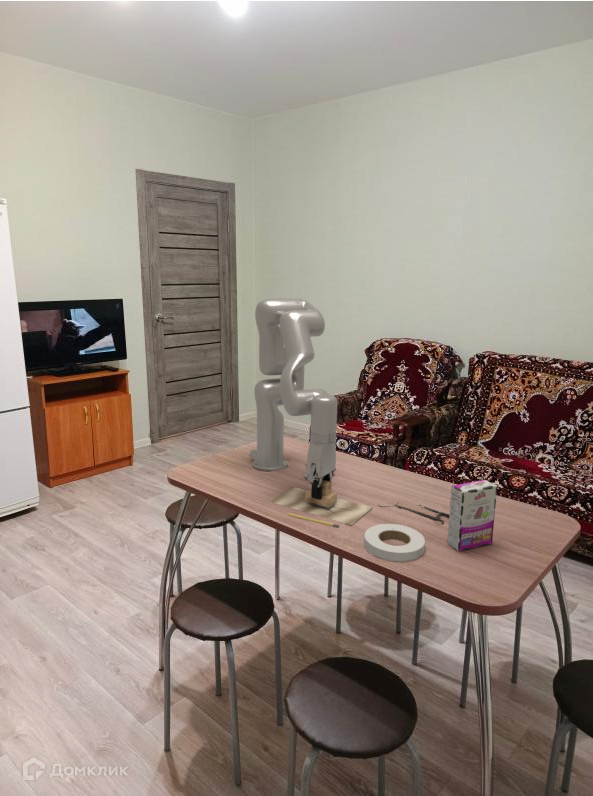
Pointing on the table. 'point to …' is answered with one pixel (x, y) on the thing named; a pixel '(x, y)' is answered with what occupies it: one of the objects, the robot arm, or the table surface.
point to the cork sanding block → (323, 495)
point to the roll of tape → (394, 552)
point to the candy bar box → (472, 515)
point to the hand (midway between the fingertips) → (321, 494)
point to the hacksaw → (425, 514)
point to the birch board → (338, 511)
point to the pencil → (313, 520)
